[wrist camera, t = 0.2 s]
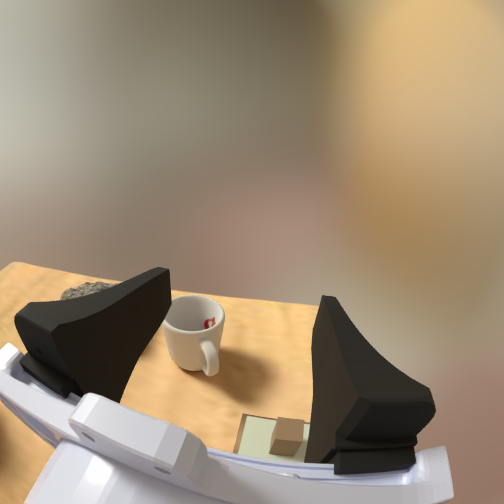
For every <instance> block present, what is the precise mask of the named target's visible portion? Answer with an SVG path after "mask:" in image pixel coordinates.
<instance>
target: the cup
mask: <svg viewBox="0 0 504 504" xmlns="http://www.w3.org/2000/svg"><path fill="white" fill-rule="evenodd" d="M224 320H225V313H224V310H223V308H222V306H221V305H220V304H219V303H218V302H216V301H215V300H213V299H211V298H208V297H205V296H201V295H183V296H179V297H176V298H173V299H172V305H171V307H170V309H169V311H168V313H167V315H166V317H165V319H164V321H163V322H162V328H163V332H164V336H165V339H166V343H167V347H168V350H169V353H170V356H171V358H172V360H173V361H174V362H175V363H176V364H177V365H178V366H179V367H181V368H183V369H186V370H190V371H199V370H203V371H204V373H205V374H206V375H207V376H214V375H216V374H217V373H218V371H219V356H218V353H219V348H220V342H221V337H222V331H223V326H224Z"/></svg>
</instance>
